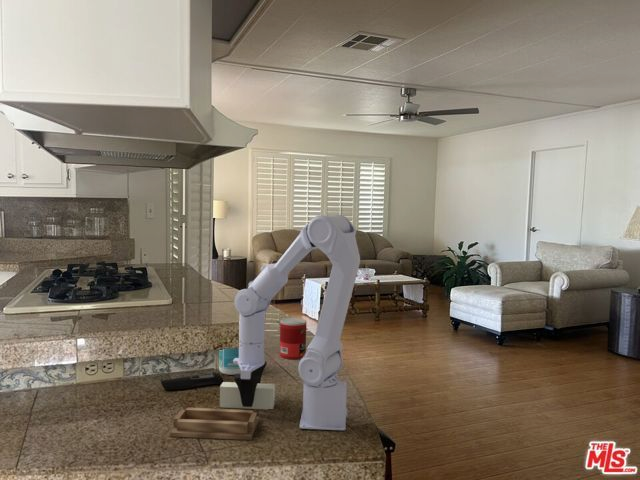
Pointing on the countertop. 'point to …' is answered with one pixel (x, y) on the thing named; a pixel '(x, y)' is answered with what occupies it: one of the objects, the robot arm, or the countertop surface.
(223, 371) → the pill bottle
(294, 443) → the countertop surface
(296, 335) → the canned food
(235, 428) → the tray
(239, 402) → the clay strip
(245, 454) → the countertop surface
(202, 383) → the electric trimmer
